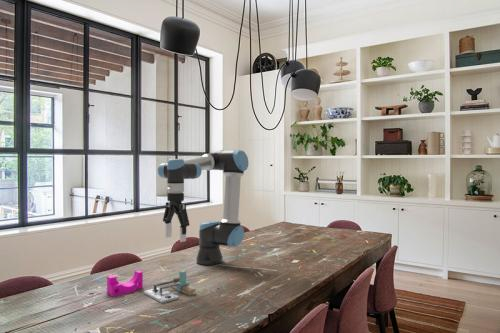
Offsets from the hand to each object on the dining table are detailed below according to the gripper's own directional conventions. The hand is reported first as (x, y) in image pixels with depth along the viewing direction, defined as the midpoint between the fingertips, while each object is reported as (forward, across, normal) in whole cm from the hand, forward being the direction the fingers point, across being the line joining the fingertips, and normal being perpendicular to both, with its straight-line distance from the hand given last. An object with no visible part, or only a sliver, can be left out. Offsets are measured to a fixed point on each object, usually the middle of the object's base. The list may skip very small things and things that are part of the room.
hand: (175, 239), depth 176 cm
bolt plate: (+22, +6, -11) cm, 25 cm away
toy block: (+23, -11, -19) cm, 32 cm away
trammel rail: (+22, +6, 0) cm, 23 cm away
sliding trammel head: (+22, +8, 0) cm, 24 cm away
